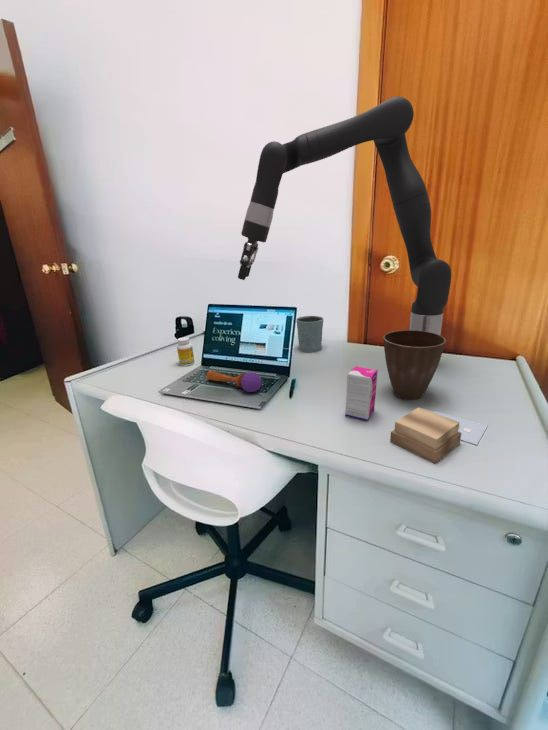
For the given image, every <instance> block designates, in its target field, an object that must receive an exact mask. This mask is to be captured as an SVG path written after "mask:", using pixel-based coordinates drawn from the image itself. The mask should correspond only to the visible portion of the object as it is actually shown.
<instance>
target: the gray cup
mask: <svg viewBox="0 0 548 730" xmlns="http://www.w3.org/2000/svg"><path fill="white" fill-rule="evenodd" d="M295 320H296V328H297V339H298V349H299V351H300V352H304V353H311V354H312V353H317V352H320V351H321V350H322V339H323V329H324V327H323V326H324V318H323V317H322V316H319V315H306V316H299V317H297V318H296V319H295Z"/></svg>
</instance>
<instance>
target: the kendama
mask: <svg viewBox="0 0 548 730" xmlns="http://www.w3.org/2000/svg"><path fill="white" fill-rule="evenodd" d="M205 377H206V380H207V381H208V380H213V381H212V382H234V383H235V384H236V385H237V386H238V387H239V388H241V389H243V390H244V391H245V392H247V393H250V392H253V393H255V391H256V392H257V390H258V391H259V390H260V388H261V387H262V383H263V381H262V378H261V376H260V374H258V373H256V372H254V371H249V372H247V373H242V374H240V375H237V376H234V377H233V376H229V375H227V374H224V373H220V372H217V371H213V370H208V372H207V373H206V376H205Z"/></svg>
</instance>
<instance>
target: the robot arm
mask: <svg viewBox="0 0 548 730" xmlns="http://www.w3.org/2000/svg"><path fill="white" fill-rule="evenodd" d="M413 121H414V107H413V105H412V103H411V102H410V101H409V100H408V99H407V98H406V97H403V96H399V95H397V96H393V97H390V98H387V99H386V100H384V101H383V102H381V103H380V104H377V105H376V106H374V107H371V108H370V109H368V110H366V111H364V112H362V113H360V114H358V115H355V116H353V117H350V118H347V119H344V120H342V121H338V122H336V123H333V124H329V125H327V126H323V127H320V128H316V129H314V130H310V131H307V132H305V133H304V132H303V133H301V134H300V135H298V136H296V137H295V138H294V139H293V140H291V141H288V142H285V143H283V144H282V143H280V142H278V141H275V140H273V141H270V142H268V143H266V144H265V145H264V147H263V148H262V150H261V152H260V156H259V160H258V166H257V171H256V177H255V183H254V186H253V190H252V193H251V196H250V200H249V204H248V207H247V209H246V213H245V218H244V220H243V221H244V222H243V225H242V230H241V236H243V237H245V238H247V241H245V243H244V244H243V247H242V248H243V250H242V253H241V256H240V260H239V265H240V267H239V271H238V274H237V279H239V280H241V281H246V278H249V277H250V273H251V268H252V265H254V262H255V260H256V256H257V253H258V252H259V251H258V250H259V243H258V242H260V243H266V242H267V239H268V235H269V231H270V229H271V225H272V221H273V217H274V211H275V208H276V204H277V200H278V197H279V188H280V184H281V182H282V181H281V180H282V178H283V174H285V173H288V172H290V171H292V170H295V169H296V168H299V167H301V166H305V165H308V164H312V163H315V162H319V161H322V160H325V159H328V158H331V157H332V156H335V155H337V154H339V153H341V152H343V151H346V150H348V149H350V148H353V147H354V146H358V145H361V144H363V143H367V142H372V141H373V143H374V145H375V148H376V151H377V153H378V155H379V158H380V162H381V163H382V166H383V170H384V175H385V178H386V183H387V187H388V191H389V195H390V198H391V204H392V206H393V211H394V215H395V217H396V221H397V223H398V226H399V227H398V228H399V230H400V234H401V237H402V239H403V243H404V246H405V249H406V254H407V259H408V266H409V271H410V277H411V280H412V282H413V284H414V285H415V286H416V287H417V292H416V298H415V301H414V302H413V301H412V303H411V308H410V309H411V310H410V318H409V319H410V322H409V330H417V331H426V332H431V333H435V334H438V335H440V336H442V335H441V334H442V326H443V318H444V311H445V310H444V309H445V307H446V306H447V303H448V299H449V294H450V289H451V284H452V283H451V282H452V269H451V266H450V264H449V263H448V262H446V261H445V260H442V259H438V257H437V256H436V252H435V250H434V246H433V243H432V238H431V227H432V224H431V223H432V207H431V202H430V199H429V195H428V194H429V193H428V189H427V186H426V184H425V182H424V179H423V177H422V175H421V173H420V172H419V170H418V169H417V167H416V165H415V164H414V162H413V160H412V158H411V156H410V151H409V148H408V142H407V138H406V133H407V132H408V131H409V129H410V127H411V126H412V123H413Z"/></svg>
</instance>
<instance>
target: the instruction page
mask: <svg viewBox="0 0 548 730" xmlns="http://www.w3.org/2000/svg"><path fill="white" fill-rule="evenodd" d="M430 412H433V413H436V414H438V415H441V416H444V417H446V418H449V419H452V420H454V421H457V422H460V423H459V429H458V432H460V433H461V439H460V442H464V443H468V444H471V445H474V446H478V444H479V443H480V440H481V439H482V437H483V435H484V433H485V432H486V429H487V428H488V425H484V424H482V423H478V422H474V421H472V420H467V419H463V418H460V417H457V416H453V415H449V414H445V413H443V412H439V411H436V410H435V411H434V410H431V411H430Z"/></svg>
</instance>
